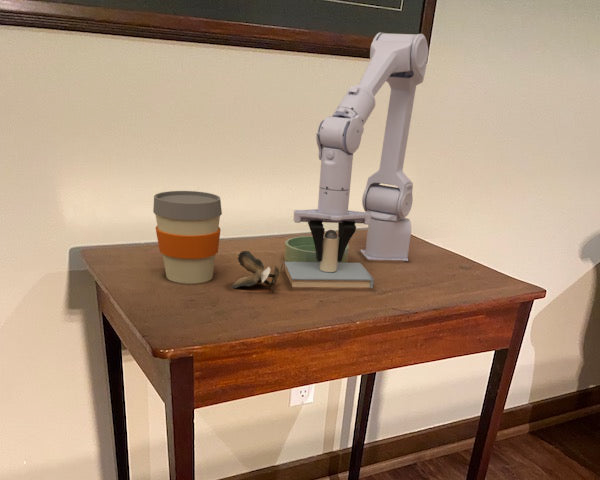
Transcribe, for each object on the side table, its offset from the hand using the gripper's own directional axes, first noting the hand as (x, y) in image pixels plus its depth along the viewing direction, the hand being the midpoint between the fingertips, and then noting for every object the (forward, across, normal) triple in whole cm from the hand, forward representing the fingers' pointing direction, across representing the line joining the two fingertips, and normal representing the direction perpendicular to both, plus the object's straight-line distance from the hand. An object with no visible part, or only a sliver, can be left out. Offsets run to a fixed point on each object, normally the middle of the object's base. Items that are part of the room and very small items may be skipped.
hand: (328, 260), depth 121 cm
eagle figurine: (+4, -15, -5) cm, 16 cm away
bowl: (+4, 0, +13) cm, 14 cm away
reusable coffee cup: (+4, -27, +2) cm, 27 cm away
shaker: (+2, 0, 0) cm, 2 cm away
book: (+4, 0, 0) cm, 4 cm away
